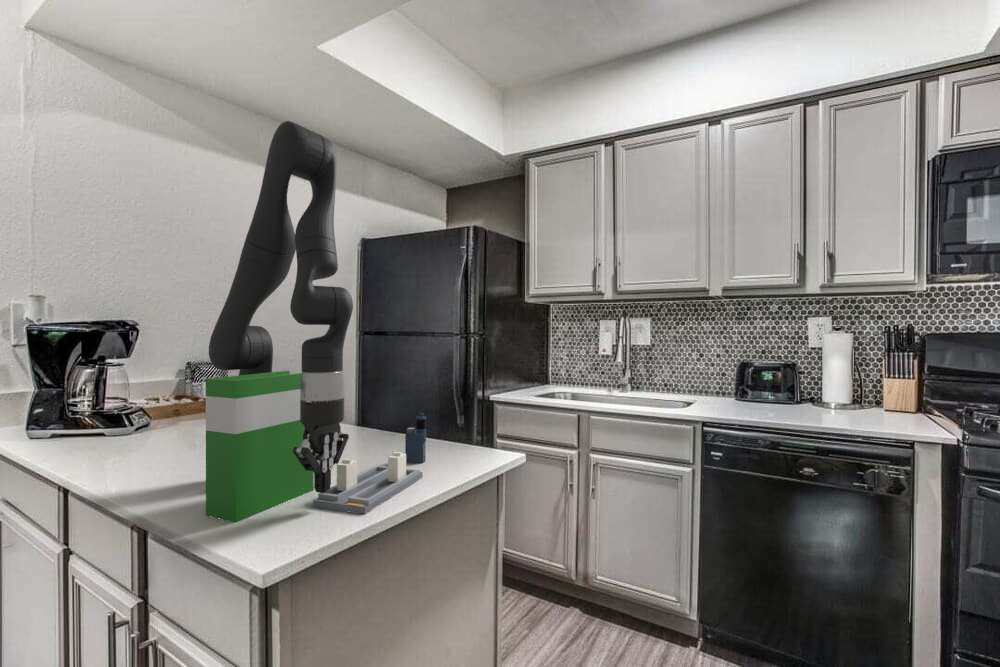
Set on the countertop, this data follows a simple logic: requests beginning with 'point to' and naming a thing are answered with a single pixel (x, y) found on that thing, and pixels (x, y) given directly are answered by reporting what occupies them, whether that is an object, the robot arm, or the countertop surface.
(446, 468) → the countertop surface
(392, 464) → the tab
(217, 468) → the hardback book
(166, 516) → the countertop surface
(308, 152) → the robot arm
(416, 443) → the vaping device
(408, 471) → the switch board
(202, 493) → the countertop surface
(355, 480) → the tab
